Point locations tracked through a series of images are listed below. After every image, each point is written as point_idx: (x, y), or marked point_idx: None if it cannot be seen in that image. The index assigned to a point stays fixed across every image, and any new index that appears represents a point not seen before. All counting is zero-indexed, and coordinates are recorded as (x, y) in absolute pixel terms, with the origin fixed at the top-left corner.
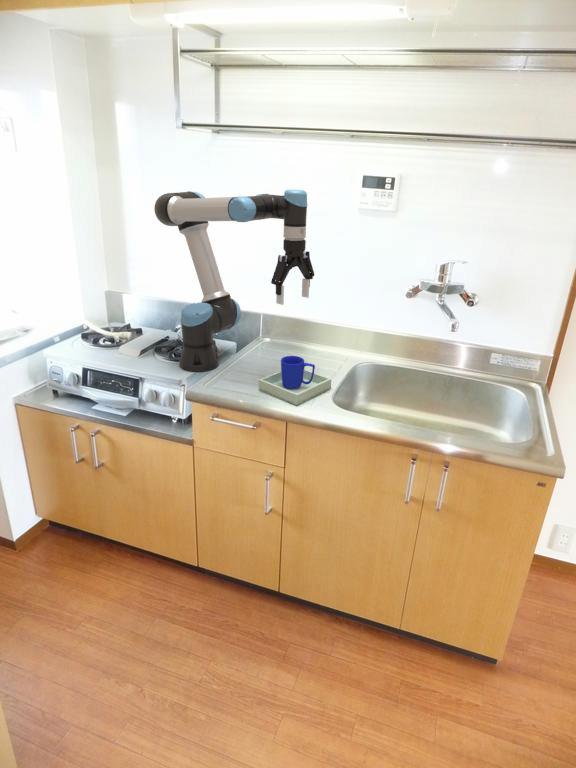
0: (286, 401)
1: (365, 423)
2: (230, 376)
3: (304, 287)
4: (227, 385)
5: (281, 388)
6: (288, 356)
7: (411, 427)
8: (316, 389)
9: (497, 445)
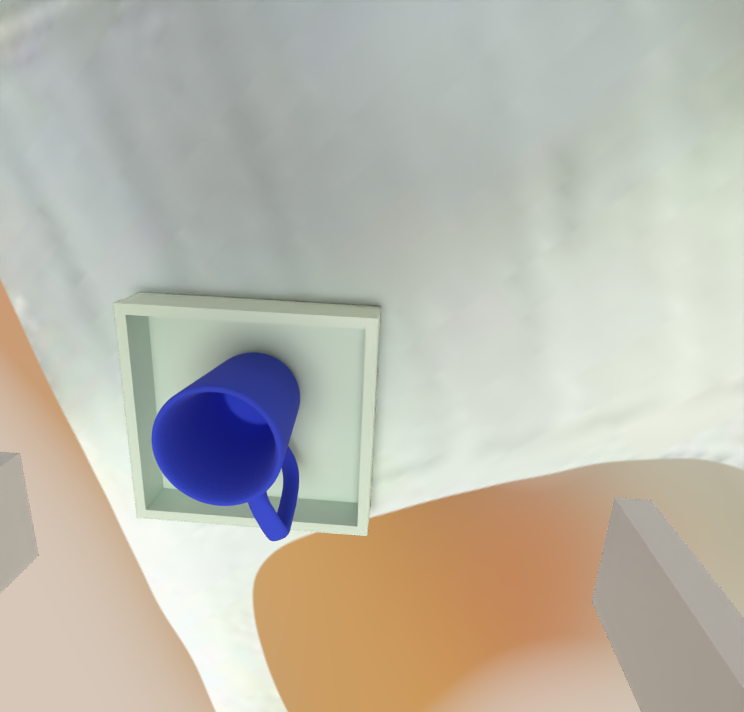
0: None
1: (236, 694)
2: (135, 59)
3: (690, 691)
4: (58, 138)
5: (131, 437)
6: (242, 399)
7: None
8: None
9: None
